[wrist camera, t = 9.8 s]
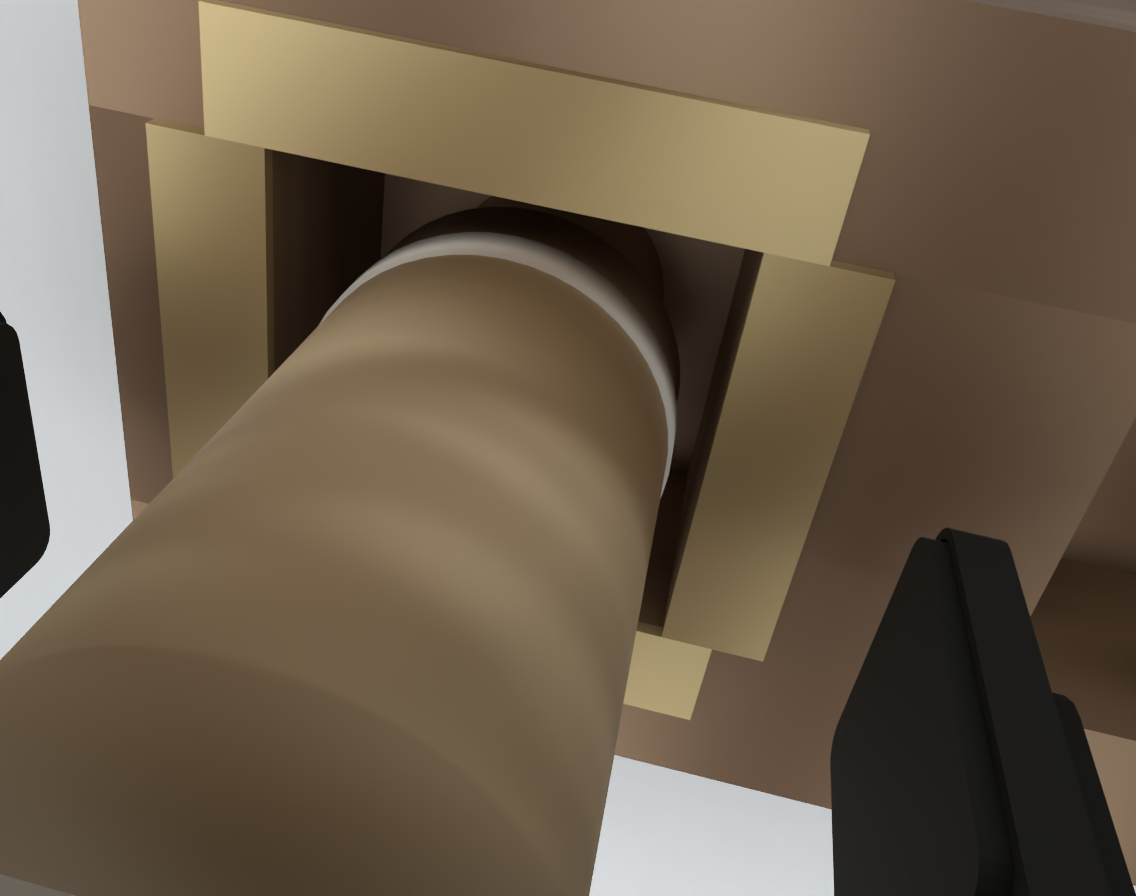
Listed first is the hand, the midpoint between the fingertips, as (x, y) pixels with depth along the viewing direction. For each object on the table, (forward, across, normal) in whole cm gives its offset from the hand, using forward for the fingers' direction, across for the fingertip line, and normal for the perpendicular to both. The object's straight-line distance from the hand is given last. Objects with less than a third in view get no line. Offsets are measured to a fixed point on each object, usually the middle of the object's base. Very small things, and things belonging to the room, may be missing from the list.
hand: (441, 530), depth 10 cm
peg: (+7, 0, 0) cm, 7 cm away
